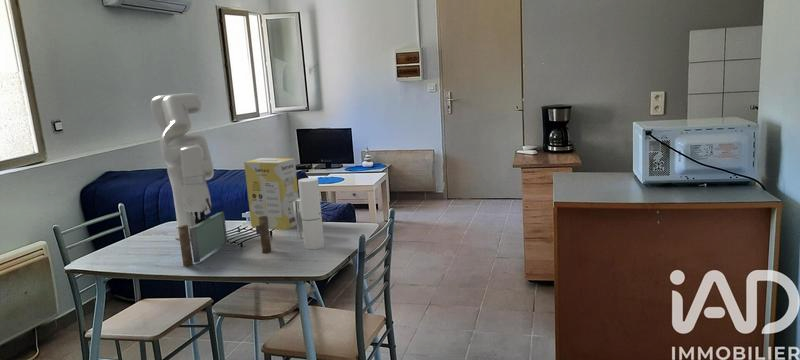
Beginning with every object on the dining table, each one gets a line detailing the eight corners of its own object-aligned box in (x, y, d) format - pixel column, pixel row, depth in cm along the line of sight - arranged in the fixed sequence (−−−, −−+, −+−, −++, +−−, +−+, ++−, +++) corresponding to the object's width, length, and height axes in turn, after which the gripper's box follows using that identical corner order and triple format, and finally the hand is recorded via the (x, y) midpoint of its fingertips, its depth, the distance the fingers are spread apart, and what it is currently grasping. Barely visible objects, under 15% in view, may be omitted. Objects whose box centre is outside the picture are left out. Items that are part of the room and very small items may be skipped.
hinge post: (183, 267, 198) (177, 227, 195) (183, 264, 200) (177, 225, 198) (193, 265, 199) (187, 226, 196) (192, 262, 202) (187, 224, 199)
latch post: (259, 255, 205) (255, 220, 203) (257, 251, 209) (253, 217, 207) (272, 253, 207) (268, 218, 204) (270, 249, 211) (266, 215, 208)
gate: (198, 262, 199) (193, 228, 197) (192, 262, 200) (188, 228, 197) (227, 242, 222) (224, 211, 219) (223, 242, 222) (219, 211, 220)
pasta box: (301, 223, 246) (294, 158, 241) (285, 229, 237) (278, 162, 231) (267, 220, 254) (260, 157, 249) (251, 226, 245) (244, 162, 240)
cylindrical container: (327, 243, 214) (321, 177, 209) (318, 249, 207) (312, 181, 203) (310, 242, 216) (304, 177, 212) (301, 248, 210) (294, 181, 205)
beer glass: (310, 239, 221) (306, 201, 218) (293, 239, 223) (289, 201, 220) (316, 233, 228) (313, 197, 225) (299, 233, 229) (296, 197, 226)
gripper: (172, 181, 210) (178, 230, 213) (201, 182, 202) (207, 233, 206) (188, 177, 216) (194, 224, 219) (217, 178, 209) (223, 227, 212)
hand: (201, 228), depth 213 cm, fingers closed
